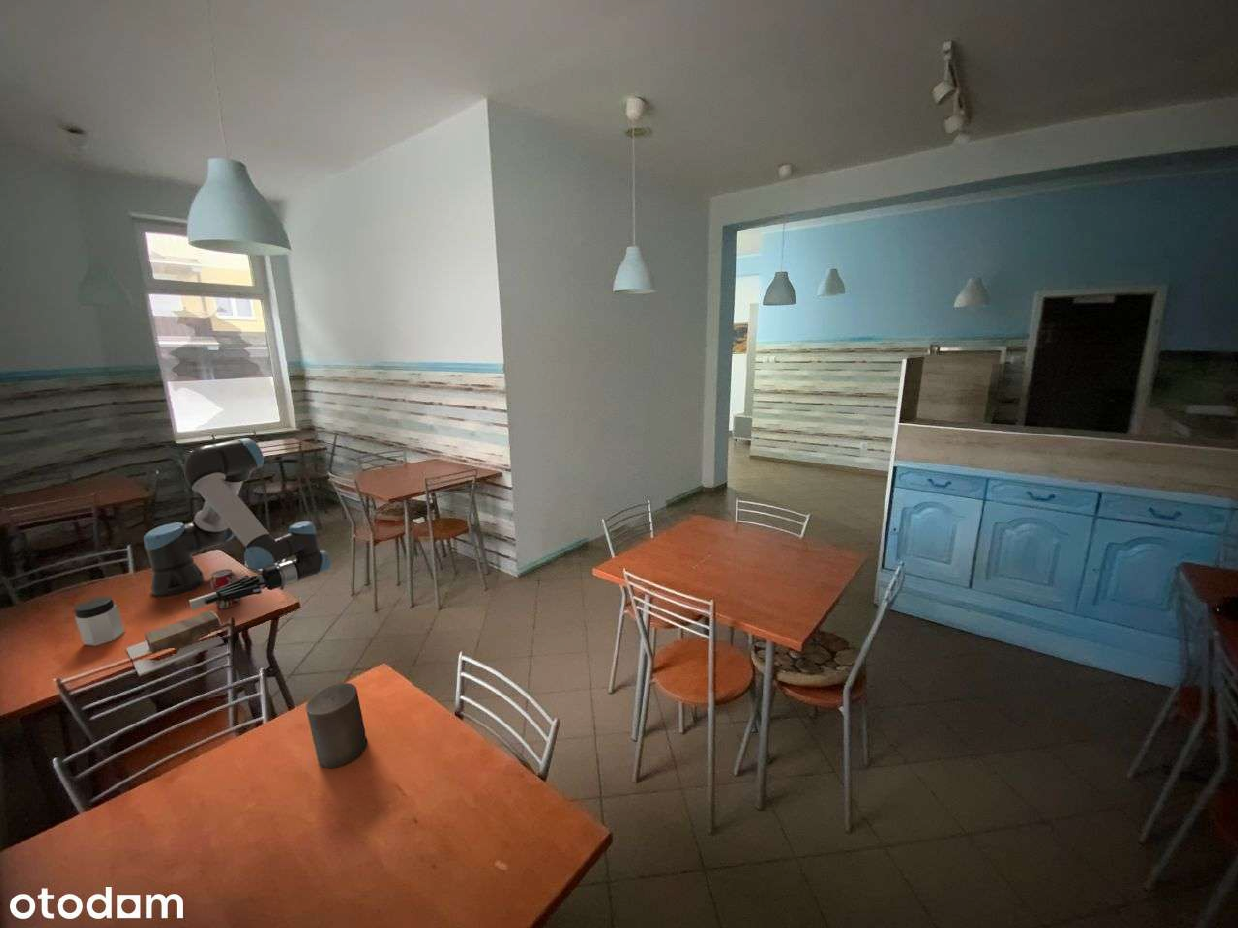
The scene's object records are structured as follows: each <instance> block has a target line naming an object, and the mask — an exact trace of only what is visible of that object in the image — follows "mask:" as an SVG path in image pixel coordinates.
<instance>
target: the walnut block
mask: <svg viewBox="0 0 1238 928" xmlns="http://www.w3.org/2000/svg"><path fill="white" fill-rule="evenodd" d="M221 629H222V630H223V628H222V624H221V619H220V617H219V616H218V615H217V614H216V613H215V612H214V611H213V609H210V610H207V611H205V612H202V613H199V614H197V615H194V616H190V617H188V618H185V619H183V620H180V621H177V622H174V623H170V624H167V625H166V626H162V627H160V628H156V629H154V630H151V631H148V632H145V633H144V635H145V641H147V643H148V646H149V649H150V651H151V652H152V653H153V654H154V653H155V652H157V651H160V650H162V649H168V648H175V649H181V648H183V647H186V646H189V645H190V644H191V643H196V642H197V641H198V640H199V639H200V638H203V637H205V636H207V635H208V634H210V633H211V632H214V631H218V630H221Z"/></svg>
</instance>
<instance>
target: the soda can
mask: <svg viewBox="0 0 1238 928" xmlns="http://www.w3.org/2000/svg"><path fill="white" fill-rule="evenodd" d="M210 577H211V578H210V579H209V582H210V587H211V591H212V592H211V593H213V592H215V591H216V588H219V587H221V586H224V585H226V584H228V583H231V582H233V581H236V580H238V579H237V576H236V573H235V572H233V570H232V569H222V570H217V571H215V572H213V573H212V574H211V575H210ZM241 601H242V598H239V599H235V600H231V601H228V602H223V601H217V602H214V603H215V604H216V608H218V609H229V608H230V609H231V608H232V607H235V606H237V605H238V604H239V603H240V602H241Z"/></svg>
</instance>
